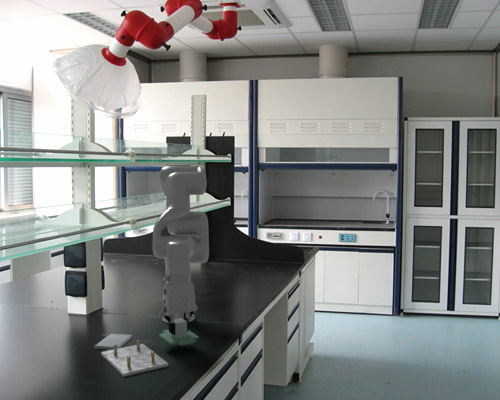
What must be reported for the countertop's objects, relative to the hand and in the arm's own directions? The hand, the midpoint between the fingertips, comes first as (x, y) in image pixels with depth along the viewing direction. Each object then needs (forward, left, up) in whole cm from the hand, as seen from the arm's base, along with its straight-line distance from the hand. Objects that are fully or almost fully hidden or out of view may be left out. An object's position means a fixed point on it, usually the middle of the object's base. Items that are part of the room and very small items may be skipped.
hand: (178, 331), depth 172 cm
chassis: (+2, -16, -6) cm, 17 cm away
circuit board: (0, 0, -2) cm, 2 cm away
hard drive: (-17, -16, -6) cm, 24 cm away
